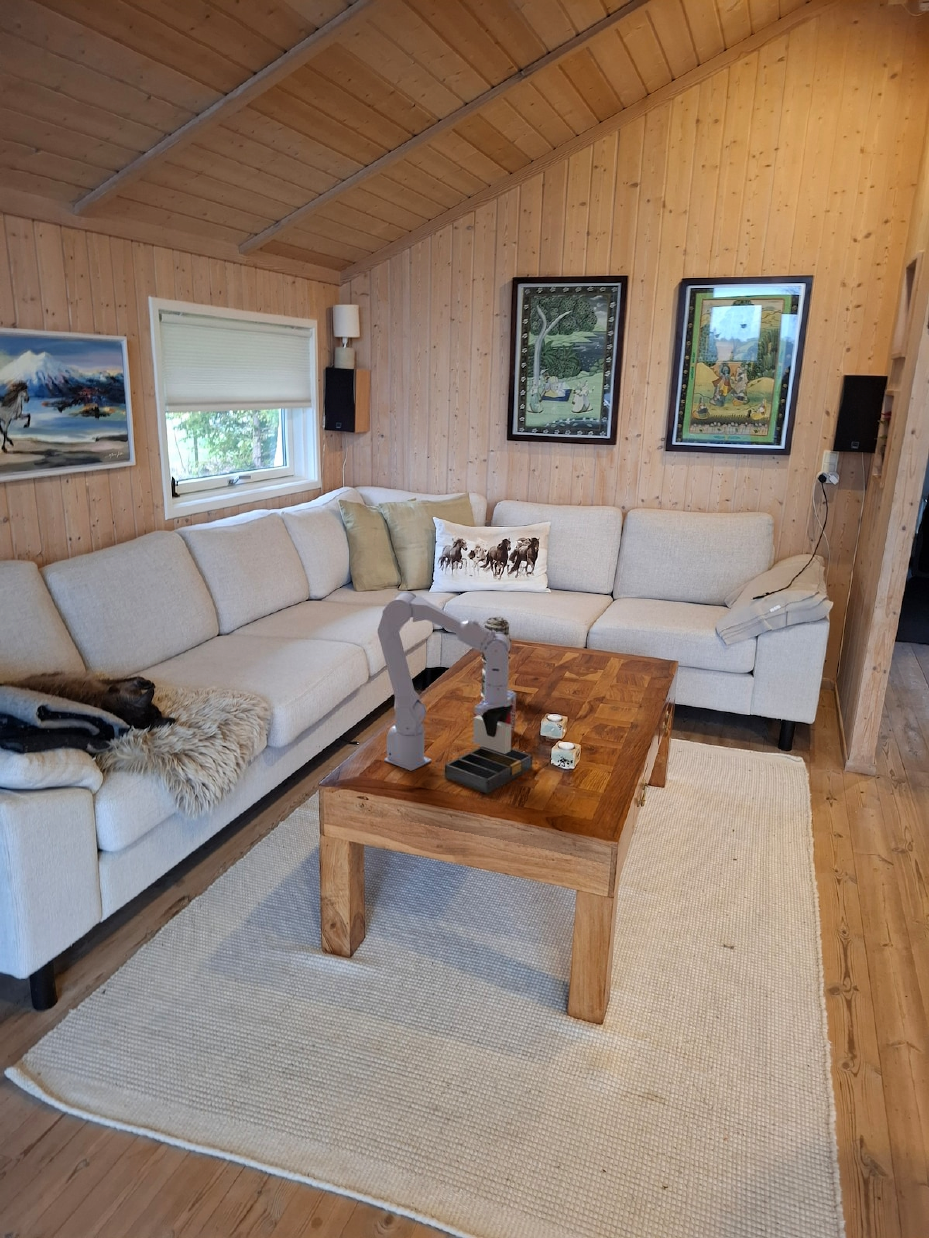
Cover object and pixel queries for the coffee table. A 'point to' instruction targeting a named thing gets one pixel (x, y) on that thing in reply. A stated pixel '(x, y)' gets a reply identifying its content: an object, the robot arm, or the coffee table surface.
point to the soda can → (512, 714)
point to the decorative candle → (498, 626)
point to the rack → (487, 768)
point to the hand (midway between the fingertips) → (494, 734)
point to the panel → (494, 743)
